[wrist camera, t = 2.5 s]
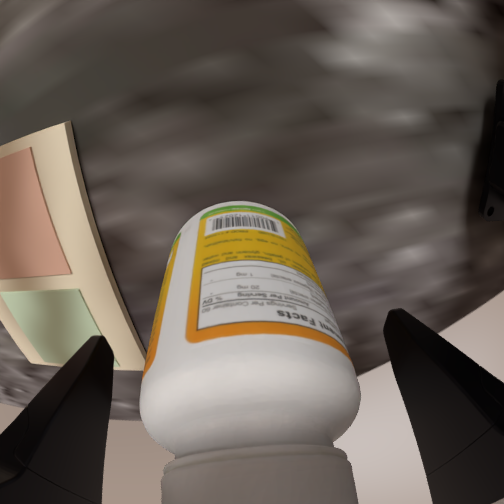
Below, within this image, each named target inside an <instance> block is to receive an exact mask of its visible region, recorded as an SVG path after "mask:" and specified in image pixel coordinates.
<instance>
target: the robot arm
mask: <svg viewBox="0 0 504 504" xmlns="http://www.w3.org/2000/svg"><path fill="white" fill-rule="evenodd" d="M478 212H479V215H480V216H481V217H482V218H483V219H484V220H486V221H500V220H504V80H503V79H500V80H499V81H498V83H497V87H496V104H495V116H494V127H493V135H492V143H491V150H490V156H489V162H488V168H487V173H486V178H485V183H484V188H483V192H482V197H481V201H480V205H479V211H478ZM383 334H384V338H385V341H386V345H387V349H388V353H389V357H390V361H391V364H392V368H393V372H394V375H395V378H396V381H397V384H398V387H399V390H400V392H401V395H402V398H403V401H404V404H405V407H406V410H407V413H408V415H409V419H410V422H411V425H412V428H413V432H414V435H415V438H416V441H417V445H418V448H419V451H420V455H421V459H422V462H423V466H424V469H425V473H426V476H427V477H426V478H427V481H428V485H429V489H430V494H431V498H432V502H433V504H504V383H503V382H502V381H500V380H499V379H497V378H496V377H495V376H493V375H492V374H491V373H489V372H488V371H487V370H485V369H484V368H482V367H481V366H479V365H478V364H477V363H476V362H474V361H473V360H472V359H471V358H469V357H468V356H466V355H465V354H464V353H463V352H461V351H460V350H459V349H457V348H456V347H455V346H453V345H452V344H451V343H449V342H447V341H446V340H445V339H444V338H442V337H441V336H440V335H438V334H437V333H436V332H434V331H433V330H432V329H430V328H429V327H427V326H426V325H425V324H423V323H422V322H420V321H419V320H418V319H416V318H415V317H413V316H412V315H411V314H409V313H408V312H406V311H405V310H404V309H402V308H398V309H392V310H390V311H389V312H388V315H387V318H386V321H385V324H384V328H383ZM113 370H114V352H113V350H112V348H111V347H110V345H109V343H108V341H107V339H106V338H105V337H104V336H103V335H93V336H91V337H90V338H89V339H88V340H87V341H86V342H85V343H84V344H83V345H82V346H81V347H80V348H79V349H78V350H77V352H76V353H75V354H74V355H73V356H72V357H71V358H70V359H69V360H68V361H67V362H66V363H65V364H64V365H63V366H62V367H61V369H60V370H59V371H58V372H57V373H56V374H55V375H54V376H53V377H52V378H51V379H50V381H49V382H48V383H47V384H46V385H45V386H44V387H43V388H42V389H41V390H40V392H39V393H38V394H37V395H36V396H35V397H34V398H33V399H32V401H31V402H30V403H29V404H28V406H26V407H25V408H24V410H23V411H22V412H21V413H20V414H19V415H18V417H17V418H16V419H15V420H14V421H13V422H12V423H11V424H10V425H9V426H8V427H7V428H6V429H5V430H4V431H3V432H2V434H0V504H102V484H103V470H104V458H105V448H106V439H107V431H108V423H109V415H110V408H111V401H112V387H113Z"/></svg>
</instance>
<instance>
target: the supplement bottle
mask: <svg viewBox="0 0 504 504" xmlns="http://www.w3.org/2000/svg"><path fill="white" fill-rule="evenodd" d="M360 400H361V393H360V386H359V382H358V379H357V376H356V373H355V369H354V366H353V363H352V361H351V359H350V356H349V353H348V350H347V348H346V345H345V343H344V340H343V338H342V335H341V333H340V330H339V328H338V325H337V323H336V320H335V317H334V315H333V312H332V310H331V307H330V305H329V302H328V299H327V297H326V294H325V292H324V290H323V287H322V285H321V282H320V280H319V277H318V275H317V272H316V270H315V268H314V265H313V263H312V260H311V258H310V256H309V253H308V251H307V248H306V246H305V244H304V242H303V240H302V238H301V236H300V234H299V232H298V230H297V229H296V227H295V226H294V225H293V224H292V222H290V221H289V220H288V219H287V218H286V217H285V216H284V215H282V214H281V213H279V212H278V211H276V210H274V209H272V208H270V207H267V206H265V205H262V204H258V203H254V202H247V201H232V202H225V203H220V204H216V205H214V206H211V207H208V208H206V209H204V210H202V211H201V212H199V213H197V214H196V215H195V216H193V217H192V218H191V219H190V220H189V221H188V222H187V223H186V224H185V225H184V226H183V227H182V228H181V230H180V231H179V233H178V235H177V236H176V238H175V241H174V243H173V246H172V249H171V252H170V256H169V259H168V263H167V268H166V272H165V276H164V280H163V284H162V288H161V293H160V297H159V301H158V305H157V310H156V314H155V318H154V323H153V328H152V332H151V337H150V342H149V346H148V351H147V356H146V361H145V366H144V372H143V378H142V384H141V393H140V414H141V418H142V421H143V424H144V426H145V428H146V430H147V431H148V433H149V434H150V436H151V437H152V438H153V439H154V440H155V441H156V442H157V443H158V444H159V445H161V446H162V447H163V448H165V449H166V450H168V451H169V452H171V453H173V454H175V460H173V461H171V462H169V463H168V464H167V465H165V467H164V476H163V477H162V480H161V490H162V504H358V499H357V493H356V488H355V482H354V478H353V473H352V466H351V463H350V462H349V461H348V460H347V455H346V453H345V452H344V451H343V450H341V449H338V448H335V447H334V445H333V442H334V441H335V440H337V439H338V438H339V437H340V436H342V435H343V434H344V433H345V432H346V430H347V429H348V428H349V427H350V426H351V424H352V423H353V421H354V419H355V417H356V415H357V413H358V410H359V405H360Z"/></svg>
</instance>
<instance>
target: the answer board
mask: <svg viewBox="0 0 504 504" xmlns="http://www.w3.org/2000/svg"><path fill="white" fill-rule="evenodd" d="M0 320H1V322H2V323H3V325H4V326H5V328H6V329H7V331H8V332H9V334H10V335H11V337H12V338H13V339H14V341H15V342H16V344H17V345H18V346H19V348H20V349H21V351H22V352H23V353H24V355H25V356H26V357H27V359H28V360H29V361H30V362H31V363H35V364H43V365H52V366H63V365H64V364H65V363H66V362H67V361H68V360H69V359H70V358H71V357H72V356H73V355H74V354H75V353H76V352H77V350H78V349H79V348H80V347H81V346H82V345H83V344H84V343H85V342H86V341H87V340H88V339H89V338H90V337H91V336H93V335H103V336H104V337H105V338H106V339H107V341H108V343H109V345H110V347H111V348H112V350H113V352H114V370H144V366H145V361H146V356H147V354H146V352H145V350H144V348H143V346H142V343H141V341H140V339H139V337H138V335H137V332H136V330H135V328H134V326H133V323H132V321H131V319H130V317H129V314H128V312H127V309H126V307H125V305H124V302H123V300H122V297H121V295H120V292H119V290H118V287H117V285H116V282H115V279H114V277H113V274H112V271H111V269H110V266H109V263H108V260H107V257H106V254H105V252H104V249H103V246H102V243H101V240H100V237H99V233H98V230H97V227H96V224H95V221H94V217H93V214H92V210H91V207H90V203H89V200H88V196H87V192H86V189H85V185H84V181H83V177H82V173H81V169H80V164H79V160H78V155H77V151H76V146H75V141H74V136H73V131H72V125H71V121H68V122H64V123H61V124H58V125H55V126H52V127H49V128H46V129H43V130H40V131H38V132H35V133H32V134H30V135H27V136H24V137H22V138H19V139H17V140H14V141H12V142H9V143H7V144H5V145H2V146H0Z"/></svg>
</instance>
